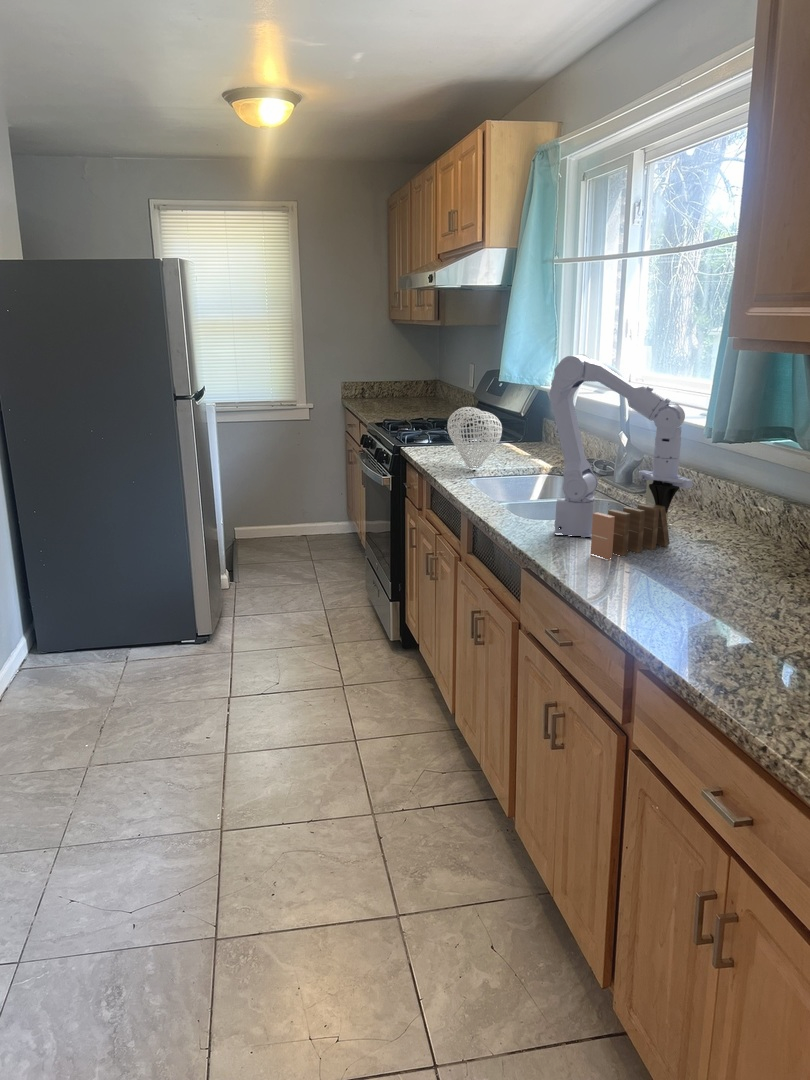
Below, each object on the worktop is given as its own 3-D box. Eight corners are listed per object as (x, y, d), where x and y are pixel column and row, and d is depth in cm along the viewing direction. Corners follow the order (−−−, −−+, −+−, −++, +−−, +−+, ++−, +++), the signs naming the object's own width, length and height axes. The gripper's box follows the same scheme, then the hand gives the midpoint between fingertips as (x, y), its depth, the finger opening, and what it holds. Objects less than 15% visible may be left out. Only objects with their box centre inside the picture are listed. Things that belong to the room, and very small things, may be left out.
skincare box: (659, 527, 207) (663, 481, 204) (642, 524, 210) (646, 479, 207) (667, 522, 212) (671, 477, 209) (651, 520, 215) (655, 475, 211)
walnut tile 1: (665, 547, 189) (660, 509, 185) (648, 542, 193) (643, 505, 189) (669, 544, 190) (664, 506, 186) (652, 539, 194) (647, 502, 190)
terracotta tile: (606, 560, 178) (609, 517, 176) (590, 555, 182) (592, 513, 180) (611, 559, 179) (614, 516, 177) (595, 554, 183) (597, 512, 181)
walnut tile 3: (637, 553, 184) (640, 511, 181) (620, 548, 188) (623, 507, 185) (641, 552, 185) (645, 510, 182) (625, 547, 189) (627, 506, 186)
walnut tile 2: (651, 550, 186) (654, 508, 184) (634, 545, 190) (637, 504, 188) (655, 549, 187) (659, 507, 185) (639, 544, 191) (642, 503, 189)
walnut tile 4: (622, 557, 181) (625, 514, 178) (605, 552, 185) (608, 510, 182) (627, 556, 182) (630, 513, 179) (610, 551, 186) (613, 509, 183)
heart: (442, 465, 299) (442, 405, 293) (481, 463, 302) (483, 404, 296) (463, 479, 272) (464, 413, 266) (506, 477, 276) (508, 412, 270)
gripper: (631, 454, 190) (627, 509, 194) (679, 462, 178) (674, 521, 182) (652, 451, 194) (647, 506, 197) (700, 460, 182) (695, 517, 185)
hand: (661, 513), depth 190 cm, fingers closed
